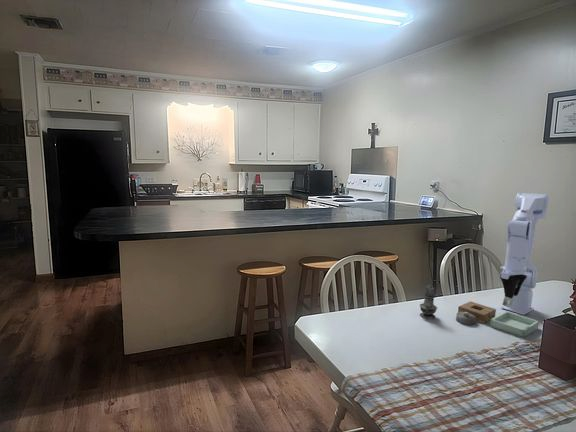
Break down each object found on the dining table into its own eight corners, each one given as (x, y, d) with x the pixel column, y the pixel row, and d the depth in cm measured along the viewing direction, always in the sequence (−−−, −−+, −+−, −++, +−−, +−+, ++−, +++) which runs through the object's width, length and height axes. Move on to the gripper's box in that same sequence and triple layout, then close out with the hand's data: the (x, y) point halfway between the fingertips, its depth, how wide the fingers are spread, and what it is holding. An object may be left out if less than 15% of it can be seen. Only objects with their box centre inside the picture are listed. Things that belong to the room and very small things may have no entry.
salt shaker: (438, 320, 128) (440, 287, 127) (420, 318, 130) (422, 285, 128) (434, 313, 134) (437, 281, 132) (417, 312, 135) (420, 280, 134)
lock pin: (503, 302, 128) (508, 280, 126) (513, 306, 125) (519, 284, 124) (499, 304, 126) (505, 282, 124) (509, 308, 123) (515, 285, 122)
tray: (505, 317, 132) (506, 311, 132) (538, 328, 124) (539, 321, 124) (489, 326, 125) (490, 319, 124) (523, 338, 117) (524, 330, 116)
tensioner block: (469, 308, 140) (470, 301, 139) (495, 317, 133) (496, 309, 132) (448, 318, 130) (449, 310, 130) (474, 328, 123) (475, 319, 123)
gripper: (512, 251, 130) (507, 288, 132) (493, 256, 121) (488, 296, 123) (535, 255, 124) (530, 294, 126) (516, 261, 116) (511, 303, 118)
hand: (511, 296), depth 124 cm, fingers closed on lock pin, 3 cm apart
